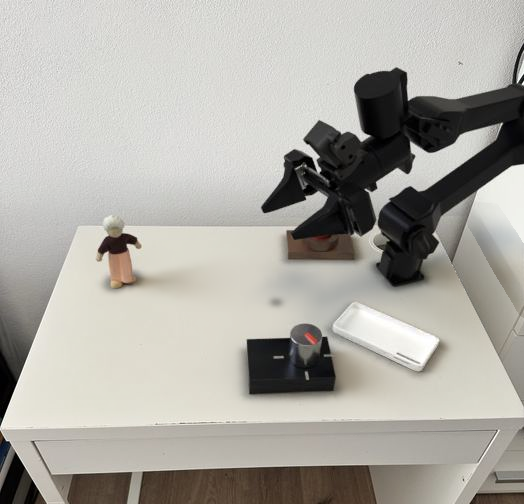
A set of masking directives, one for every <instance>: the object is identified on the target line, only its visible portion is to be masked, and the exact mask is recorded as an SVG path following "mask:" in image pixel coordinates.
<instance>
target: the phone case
mask: <svg viewBox="0 0 524 504" xmlns="http://www.w3.org/2000/svg"><path fill="white" fill-rule="evenodd" d="M332 332H334V333H335V334H336V335H338V336H341V337H342V338H345V339H346V340H349V341H351V342H353V343H355V344H357V345H359V346H361V347H364V348H366V349H368V350H370V351H371V352H373V353H376V354H379V355H381V356H383V357H385V358H387V359H389V360H391V361H393V362H395V363H398V364H400V365H402V366H404V367H406V368H408V369H410V370H412V371H415V372H422V371H423V370H424V368H425V366H426V365H427V363H428V362H429V360H430V359H431V357H432V356H433V354H434V353H435V351H436V349H437V348H438V346H439V344H440V339H439V337H437V336H436V335H433V334H431V333H429V332H427V331H425V330H422V329H419V328H417V327H415V326H413V325H411V324H408V323H406V322H404V321H401V320H399V319H397V318H395V317H393V316H390V315H388V314H385V313H384V312H381V311H380V310H378V309H377V310H376V309H374V308H372V307H371V306H370V307H369V306H367V305H365V304H363V303H361V302H357V301H353V302H352V303H351V304H350V305H348V307H347V308H346V309H345V310H344V311H343V313H342V314H341V315H340V316H339V317H338V318H337V319H336V320H335V321H334V323H333V324H332Z"/></svg>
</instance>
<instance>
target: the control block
mask: <svg viewBox="0 0 524 504" xmlns="http://www.w3.org/2000/svg"><path fill="white" fill-rule="evenodd" d="M293 230H294V229H286V231H285V243H286V245H285V246H286V256H287V257H286V258H287V260H305V261H306V260H309V261H311V260H312V261H313V260H314V261H315V260H317V261H319V260H320V261H354V257H355V248H354V244H353V240H352V235H351V236H350V235H349V234H341V235H330V237H329V238H328V239H316V238H313V237H312V238H305V239H298V240H294V239H293V238H292V236H291V232H292V231H293Z"/></svg>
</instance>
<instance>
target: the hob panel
mask: <svg viewBox="0 0 524 504" xmlns="http://www.w3.org/2000/svg"><path fill="white" fill-rule="evenodd" d="M289 342H290V337H271V338H269V337H268V338H246V365H247V382H248V394H249V395H259V394H286V393H309V392H311V393H313V392H333V391H334V388H335V384H336V379H337V375H336V370H335V367H334V362H333V358H334V357H335V356H334V354H333V353H332V352H331V348H330V343H329V339H328V336H322V342H321V349H320V356H319V361H318V362H317V364H316V365H314V366H312V367H309V368H301V367H297V366H295V365H294V364H292V363H291V362H290V360H289V357H288V355H289Z"/></svg>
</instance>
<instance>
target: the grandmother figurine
mask: <svg viewBox="0 0 524 504" xmlns="http://www.w3.org/2000/svg"><path fill="white" fill-rule="evenodd" d="M125 224H126V223H125V221H124V220H123V219H122V218H120V216H118V215H115V214H114V215H113V214H111V215H109V216H107V217H105V218H103V221H102V227H103V230H104V231H105V232H106V233H107V236H105V237H104V238H103V240H102V242H101V243H100V245H99V246H98V248H97V252H96V257H95V261H96V262H98V263H101V262H102V261H103V257H104V255H105V254H106V253H107V258H108V259H107V261H108V270H109V274H110V287H111V288H112V289H119V288H121V287H122V286H123V283H124V284H127V285H128V284H134V283H135V282H136V281H137V278H136V276H135V275H133V271H134V270H133V263H132V258H131V254H130V253H131V252H130V249H129V248H128V245H131V246H132V245H133V246H134V248H135V249H136V250H140V249H142V247H143V246H142V243H140V241H139V239H138V237H137V236H135V235H134V234H133V235H132V234H130V233H125V232H124V228H125Z"/></svg>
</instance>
